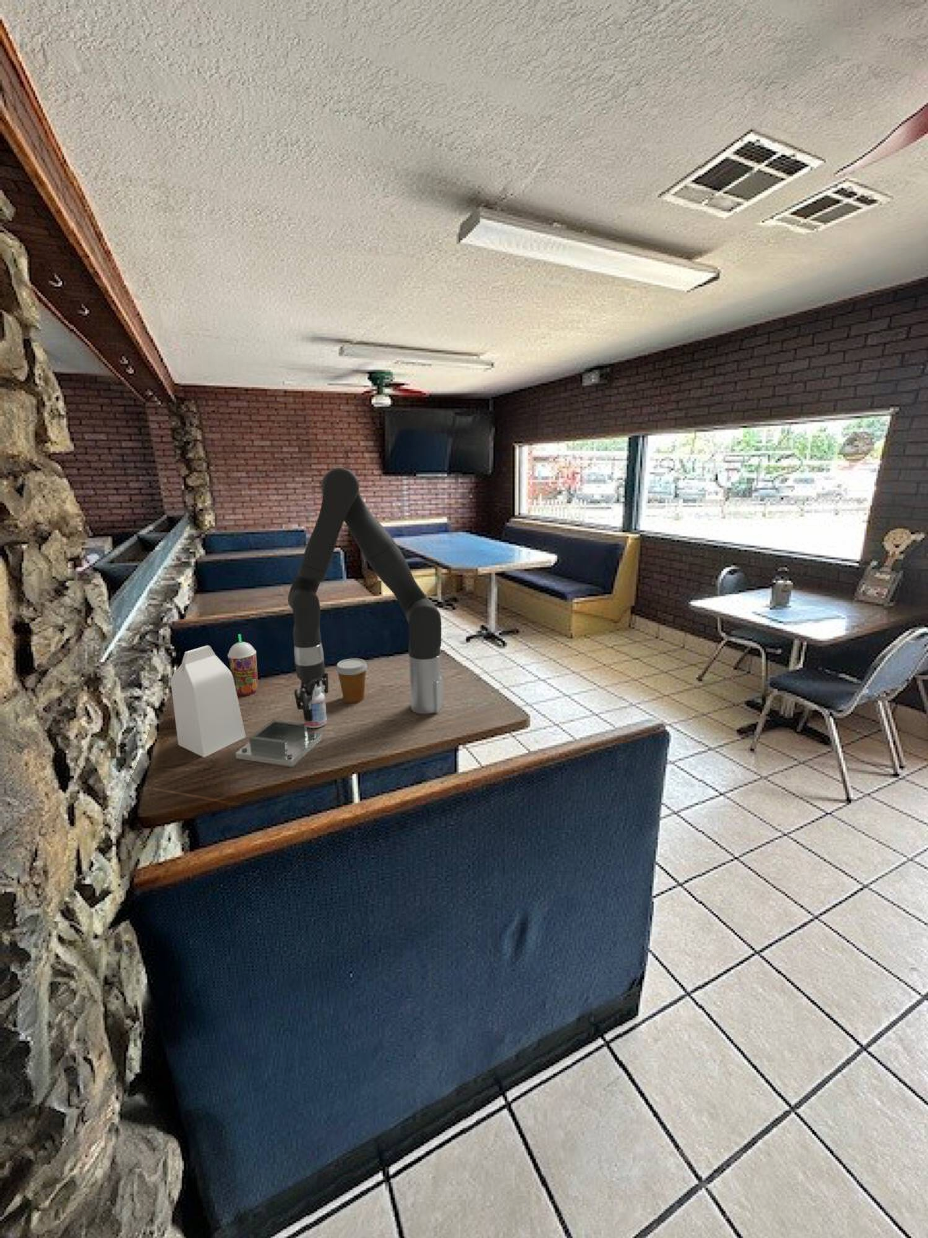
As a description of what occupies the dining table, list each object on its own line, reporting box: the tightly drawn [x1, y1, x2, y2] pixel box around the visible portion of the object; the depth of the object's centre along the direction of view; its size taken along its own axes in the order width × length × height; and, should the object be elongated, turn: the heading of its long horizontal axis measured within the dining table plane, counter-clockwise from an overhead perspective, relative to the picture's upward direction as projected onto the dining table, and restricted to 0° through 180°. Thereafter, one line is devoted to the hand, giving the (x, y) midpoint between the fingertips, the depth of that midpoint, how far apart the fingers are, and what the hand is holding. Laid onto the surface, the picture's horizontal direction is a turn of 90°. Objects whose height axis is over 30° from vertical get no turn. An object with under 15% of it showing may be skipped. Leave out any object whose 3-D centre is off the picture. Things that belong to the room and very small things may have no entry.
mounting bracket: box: [235, 719, 323, 768], centre depth 131 cm, size 16×14×5 cm
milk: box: [170, 645, 246, 758], centre depth 132 cm, size 12×12×26 cm
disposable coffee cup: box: [335, 658, 368, 704], centre depth 159 cm, size 10×10×12 cm
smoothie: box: [227, 633, 259, 696], centre depth 163 cm, size 8×8×20 cm
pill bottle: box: [303, 686, 328, 729], centre depth 143 cm, size 6×6×11 cm
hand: (315, 715), depth 144 cm, fingers closed on pill bottle, 6 cm apart
